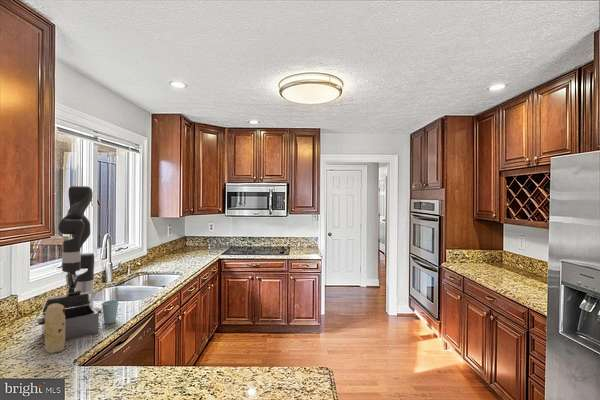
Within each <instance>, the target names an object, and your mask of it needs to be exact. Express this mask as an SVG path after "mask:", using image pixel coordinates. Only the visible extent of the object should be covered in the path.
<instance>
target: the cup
mask: <svg viewBox="0 0 600 400" xmlns="http://www.w3.org/2000/svg"><path fill="white" fill-rule="evenodd" d="M101 304H102V305H101V306H102V307H101V308H102V315H103V323H104V324H113V323H116V321H117V313H118V307H119V300H116V299H115V300H113V299H112V300H111V299H110V300H106V301H103V302H102V303H101Z"/></svg>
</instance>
